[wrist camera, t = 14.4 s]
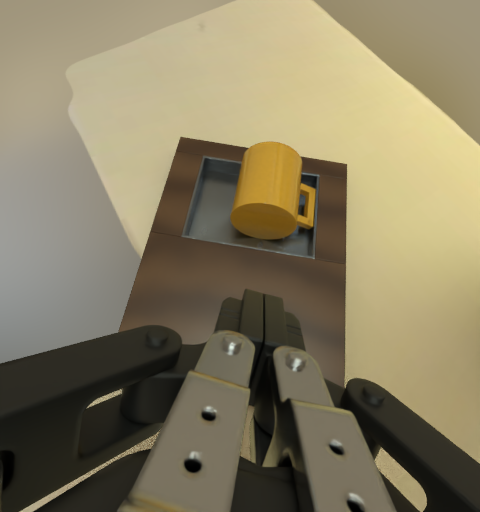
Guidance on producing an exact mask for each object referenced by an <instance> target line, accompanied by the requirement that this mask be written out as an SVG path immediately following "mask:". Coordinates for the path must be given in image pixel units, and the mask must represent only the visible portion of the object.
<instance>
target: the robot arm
mask: <svg viewBox="0 0 480 512" xmlns="http://www.w3.org/2000/svg"><path fill="white" fill-rule="evenodd" d="M122 388H123V389H122ZM119 389H122V394H120V395H118V396H115V397H113V398H110V399H108V400H106V401H103V402H101V403H99V404H96V405H94V406H91V407H89V408H87V407H88V406H89V405H90V404H91V403H92V402H93V401H94V400H96V399H98V398H100V397H102V396H104V395H107V394H109V393H112V392H114V391H117V390H119ZM248 405H251V406H254V413H253V416H252V419H251V422H250V427H249V430H250V456H251V461H249V460H247V459H245V458H243V457H241V456H240V451H241V445H242V439H243V433H244V427H245V421H246V415H247V409H248ZM86 408H87V409H86ZM160 429H161V430H160ZM159 430H160V432H159V434H158V436H157V439H156V441H155V443H154V445H153V447H152V449H148V450H143V451H139V452H136V453H133V454H130V455H127V456H125V457H123V458H120V459H118V460H116V461H114V462H113V463H111V464H109V465H107V466H106V467H104V468H103V469H101V470H99V471H98V472H96V473H95V474H93V475H91V476H90V477H88V478H87V479H85V480H83V481H82V482H80V483H78V484H77V485H75V486H74V487H72V488H70V489H69V490H67V491H66V492H64V493H62V494H61V495H59V496H58V497H56V498H54V499H53V500H51V501H50V502H48V503H46V504H45V505H43V506H41V507H40V508H38V509H37V510H35V511H33V512H420V511H419V510H417V509H416V508H415V507H414V506H413V505H412V504H411V503H410V502H409V501H408V500H407V499H406V498H405V497H404V496H403V495H402V494H401V493H400V492H399V491H398V490H397V489H396V487H395V486H394V485H393V484H392V483H391V482H390V481H389V480H388V479H387V478H386V477H385V476H384V475H383V474H382V473H381V472H380V471H379V470H378V468H377V466H376V464H375V461H374V460H375V458H376V456H377V454H378V452H379V450H380V448H381V447H382V448H383V449H384V450H385V451H386V452H387V453H388V454H389V455H390V456H391V457H392V458H393V459H395V460H396V461H397V462H398V463H399V464H400V465H401V466H402V467H403V468H404V469H405V470H406V471H407V472H408V473H409V474H410V475H411V476H412V477H414V478H415V479H416V480H417V481H418V482H419V484H420V485H421V486H422V488H423V489H424V492H425V494H426V497H427V506H426V508H425V510H424V511H423V512H480V464H479V463H478V462H477V461H475V460H474V459H473V458H472V457H470V456H469V455H468V454H467V453H465V452H464V451H463V450H461V449H460V448H459V447H458V446H456V445H455V444H454V443H453V442H451V441H450V440H449V439H447V438H446V437H445V436H444V435H442V434H441V433H440V432H439V431H437V430H436V429H435V428H433V427H432V426H431V425H430V424H428V423H427V422H426V421H425V420H423V419H422V418H421V417H420V416H418V415H417V414H416V413H414V412H413V411H412V410H411V409H409V408H408V407H407V406H406V405H404V404H403V403H402V402H400V401H399V400H398V399H397V398H395V397H394V396H393V395H392V394H390V393H389V392H388V391H386V390H385V389H384V388H382V387H381V386H379V385H377V384H375V383H373V382H371V381H368V380H365V379H360V378H354V379H351V380H349V381H348V383H347V385H346V388H344V387H341V386H339V385H337V384H335V383H333V382H331V381H329V380H327V379H325V378H324V377H323V375H322V373H321V370H320V367H319V365H318V363H317V361H316V360H315V359H314V358H313V357H312V356H311V355H310V354H308V353H307V352H306V349H305V344H304V340H303V336H302V331H301V326H300V322H299V320H298V319H297V318H296V317H295V315H294V314H293V313H290V312H286V311H284V305H283V299H282V298H280V297H276V296H272V295H269V294H264V295H263V293H261V292H257V291H253V290H249V289H245V291H244V294H243V298H242V300H240V299H236V298H232V297H228V298H227V299H225V300H224V301H223V302H222V305H221V309H220V312H219V316H218V319H217V323H216V326H215V329H214V333H212V334H211V335H210V337H209V339H208V341H207V342H205V343H202V344H195V345H187V344H182V338H181V336H180V335H179V334H178V333H177V332H176V331H174V330H173V329H171V328H168V327H165V326H161V325H145V326H141V327H137V328H134V329H130V330H126V331H122V332H118V333H115V334H111V335H107V336H103V337H100V338H96V339H92V340H88V341H84V342H80V343H77V344H73V345H69V346H65V347H62V348H58V349H54V350H50V351H47V352H43V353H39V354H35V355H31V356H27V357H24V358H20V359H16V360H12V361H8V362H5V363H1V364H0V512H19V511H21V510H23V509H24V508H26V507H28V506H30V505H31V504H33V503H35V502H37V501H38V500H40V499H42V498H44V497H45V496H47V495H49V494H51V493H52V492H54V491H56V490H58V489H59V488H61V487H63V486H65V485H67V484H68V483H70V482H72V481H74V480H75V479H77V478H79V477H81V476H82V475H84V474H86V473H88V472H89V471H91V470H93V469H95V468H96V467H98V466H100V465H102V464H103V463H105V462H107V461H109V460H110V459H112V458H114V457H116V456H117V455H119V454H121V453H123V452H124V451H126V450H128V449H130V448H131V447H133V446H135V445H137V444H138V443H140V442H142V441H144V440H145V439H147V438H149V437H151V436H153V435H154V434H156V433H157V432H158V431H159Z"/></svg>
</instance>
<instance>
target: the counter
mask: <svg viewBox="0 0 480 512" xmlns="http://www.w3.org/2000/svg"><path fill="white" fill-rule="evenodd" d="M247 149H248V148H245V147H239V146H233V145H227V144H221V143H215V142H209V141H203V140H196V139H190V138H184V137H180V140H179V144H178V147H177V150H176V153H175V156H174V159H173V162H172V166H171V169H170V172H169V175H168V178H167V181H166V184H165V187H164V191H163V194H162V197H161V200H160V203H159V206H158V209H157V213H156V216H155V219H154V222H153V225H152V228H151V232H150V234H149V238H148V241H147V244H146V247H145V250H144V253H143V256H142V260H141V263H140V266H139V269H138V272H137V275H136V278H135V281H134V285H133V288H132V291H131V294H130V297H129V300H128V304H127V307H126V310H125V313H124V316H123V319H122V322H121V325H120V328H119V332H122V331H126V330H130V329H134V328H137V327H141V326H145V325H161V326H165V327H168V328H171V329H173V330H174V331H176V332H177V333H178V334H179V335H180V336H181V338H182V344H187V345H195V344H202V343H205V342H207V341H208V339H209V337H210V335H211V334H212V333H214V329H215V326H216V323H217V319H218V316H219V312H220V309H221V305H222V302H223V301H224V300H225V299H227V298H228V297H232V298H236V299H240V300H242V298H243V294H244V291H245V289H249V290H253V291H257V292H261V293H263V295H264V294H269V295H272V296H276V297H280V298H282V299H283V305H284V311H286V312H290V313H293V314H294V315H295V317H296V318H297V319H298V320H299V322H300V326H301V331H302V336H303V340H304V344H305V349H306V352H307V353H308V354H310V355H311V356H312V357H313V358H314V359H315V360H316V361H317V363H318V365H319V367H320V370H321V373H322V375H323V377H324V378H325V379H327V380H329V381H331V382H333V383H335V384H337V385H339V386H341V387H344V379H345V291H346V200H347V164H343V163H337V162H331V161H325V160H319V159H312V158H306V157H301V159H302V163H303V168H302V172H307V173H313V174H319V175H320V176H319V193H318V210H317V227H316V245H315V259H310V258H304V257H298V256H292V255H286V254H280V253H274V252H268V251H262V250H256V249H250V248H244V247H238V246H232V245H226V244H220V243H214V242H208V241H202V240H196V239H190V238H184V237H181V236H182V232H183V228H184V225H185V221H186V217H187V214H188V210H189V206H190V202H191V199H192V195H193V191H194V187H195V184H196V180H197V176H198V173H199V169H200V165H201V161H202V158H203V156H209V157H215V158H221V159H227V160H233V161H240V162H241V161H242V157H243V155H244V153H245V152H246V150H247Z"/></svg>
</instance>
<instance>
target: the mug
mask: <svg viewBox="0 0 480 512" xmlns="http://www.w3.org/2000/svg"><path fill="white" fill-rule="evenodd" d="M302 168H303V163H302V159H301V157H300V156H299V154H298V153H297V152H296V151H295V150H294V149H292V148H291V147H289V146H287V145H285V144H282V143H278V142H262V143H258V144H255V145H253V146H251V147H250V148H248V149H247V150H246V152H245V153H244V155H243V157H242V161H241V166H240V171H239V176H238V181H237V186H236V191H235V195H234V200H233V205H232V210H231V215H230V220H231V223H232V224H233V226H234V227H235V228H236V229H237V230H238V231H240V232H241V233H243V234H245V235H248V236H250V237H254V238H258V239H267V240H273V239H280V238H284V237H287V236H289V235H290V234H292V233H293V232H294V231H295V230H296V227H297V225H298V226H301V227H303V228H306V229H311V228H312V227H313V221H314V207H315V193H316V189H314V188H312V187H309V186H307V185H305V184H302V183H301V178H302ZM300 194H302V195H304V196H306V197H305V209H304V216H301V215H298V210H299V199H300Z"/></svg>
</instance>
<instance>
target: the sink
mask: <svg viewBox="0 0 480 512" xmlns="http://www.w3.org/2000/svg"><path fill="white" fill-rule="evenodd" d="M240 166H241V162H240V161H233V160H227V159H221V158H215V157H209V156H203V158H202V161H201V165H200V169H199V173H198V176H197V180H196V184H195V187H194V191H193V195H192V199H191V202H190V206H189V210H188V214H187V217H186V221H185V225H184V228H183V232H182V236H181V237H184V238H190V239H196V240H202V241H208V242H214V243H220V244H226V245H232V246H238V247H244V248H250V249H256V250H262V251H268V252H274V253H280V254H286V255H292V256H298V257H304V258H310V259H315V245H316V227H317V210H318V193H319V176H320V175H319V174H313V173H307V172H302V178H301V183H302V184H305V185H307V186H309V187H312V188H314V189H316V193H315V207H314V221H313V227H312V228H311V229H306V228H303V227H301V226H298V225H297V227H296V230H295V231H294V232H293V233H292V234H290V235H289V236H287V237H284V238H280V239H273V240H267V239H258V238H254V237H250V236H248V235H245V234H243V233H241V232H240V231H238V230H237V229H236V228H235V227H234V226H233V224H232V223H231V220H230V215H231V210H232V205H233V200H234V195H235V191H236V186H237V181H238V176H239V171H240ZM305 197H306V196H304V195H302V194H300V199H299V210H298V215H301V216H304V209H305Z"/></svg>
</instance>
